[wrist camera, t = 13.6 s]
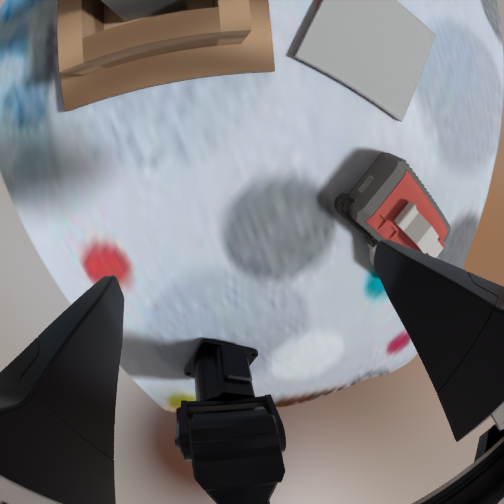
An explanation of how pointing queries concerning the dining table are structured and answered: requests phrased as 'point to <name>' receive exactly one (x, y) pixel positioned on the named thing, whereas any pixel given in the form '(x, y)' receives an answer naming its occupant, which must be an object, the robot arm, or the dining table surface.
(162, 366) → the dining table surface
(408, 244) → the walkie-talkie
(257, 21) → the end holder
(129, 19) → the connector plug
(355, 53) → the mat
